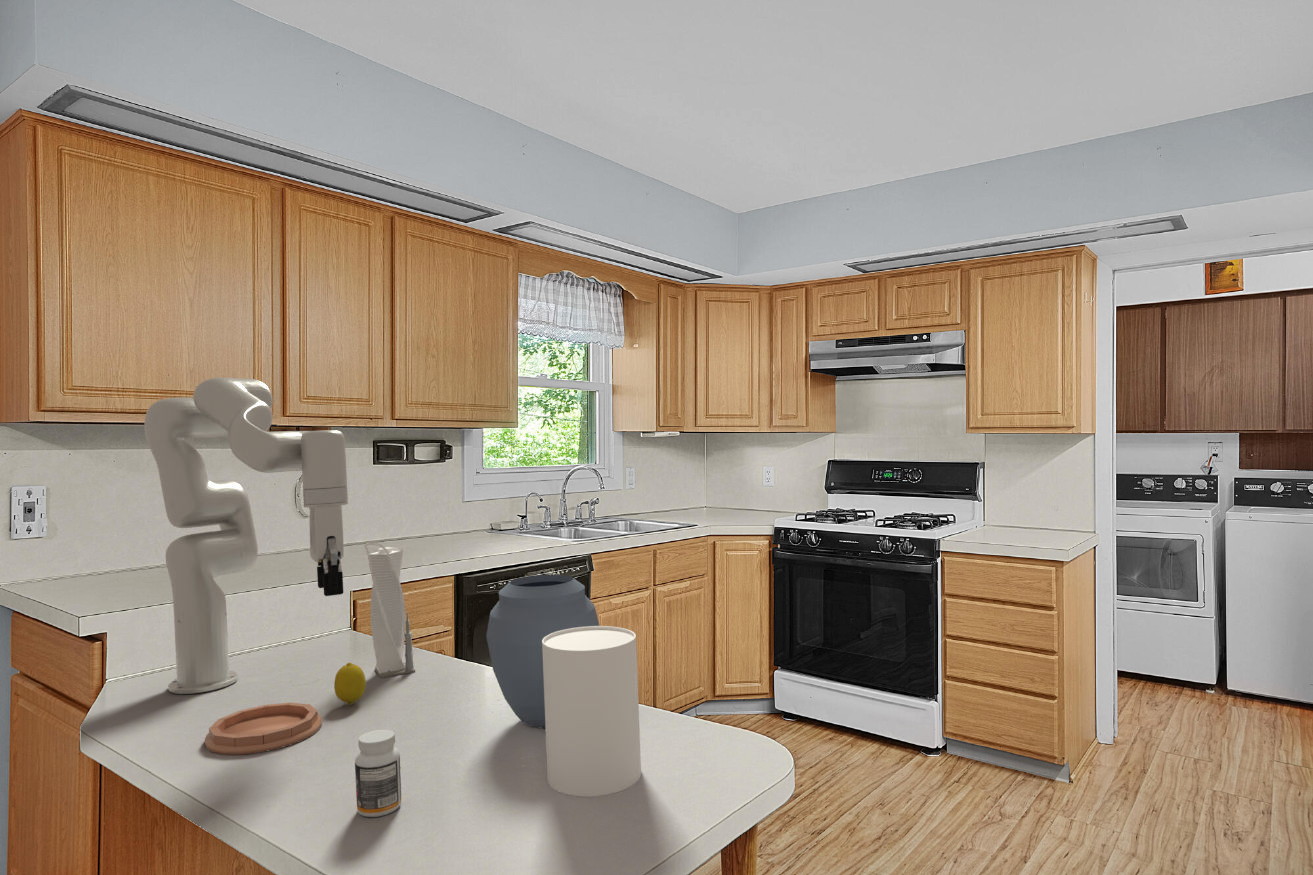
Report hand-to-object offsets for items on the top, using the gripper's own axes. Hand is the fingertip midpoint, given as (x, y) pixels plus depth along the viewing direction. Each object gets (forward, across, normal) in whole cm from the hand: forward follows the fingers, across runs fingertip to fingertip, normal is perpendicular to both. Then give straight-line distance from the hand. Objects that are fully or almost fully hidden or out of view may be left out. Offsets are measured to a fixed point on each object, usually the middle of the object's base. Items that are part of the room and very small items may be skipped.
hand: (330, 590), depth 147 cm
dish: (+22, +4, -12) cm, 26 cm away
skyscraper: (+22, -21, +14) cm, 34 cm away
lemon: (+23, -3, +3) cm, 23 cm away
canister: (+23, +51, +29) cm, 63 cm away
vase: (+23, +26, +31) cm, 47 cm away
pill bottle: (+23, +44, 0) cm, 50 cm away
